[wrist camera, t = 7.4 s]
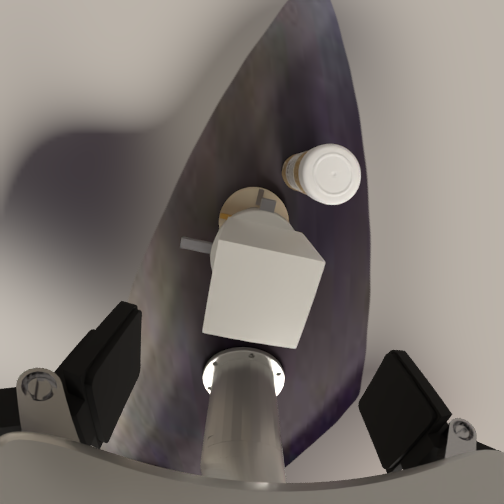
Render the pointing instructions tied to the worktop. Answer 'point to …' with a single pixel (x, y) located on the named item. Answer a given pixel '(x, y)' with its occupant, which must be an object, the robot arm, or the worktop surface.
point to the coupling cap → (259, 278)
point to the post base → (249, 202)
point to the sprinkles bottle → (323, 173)
